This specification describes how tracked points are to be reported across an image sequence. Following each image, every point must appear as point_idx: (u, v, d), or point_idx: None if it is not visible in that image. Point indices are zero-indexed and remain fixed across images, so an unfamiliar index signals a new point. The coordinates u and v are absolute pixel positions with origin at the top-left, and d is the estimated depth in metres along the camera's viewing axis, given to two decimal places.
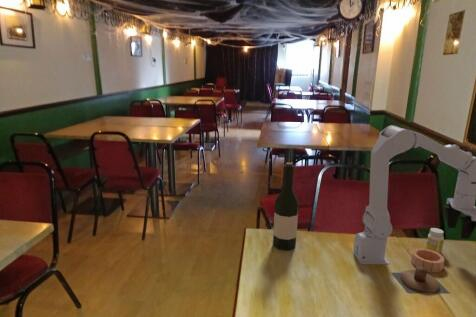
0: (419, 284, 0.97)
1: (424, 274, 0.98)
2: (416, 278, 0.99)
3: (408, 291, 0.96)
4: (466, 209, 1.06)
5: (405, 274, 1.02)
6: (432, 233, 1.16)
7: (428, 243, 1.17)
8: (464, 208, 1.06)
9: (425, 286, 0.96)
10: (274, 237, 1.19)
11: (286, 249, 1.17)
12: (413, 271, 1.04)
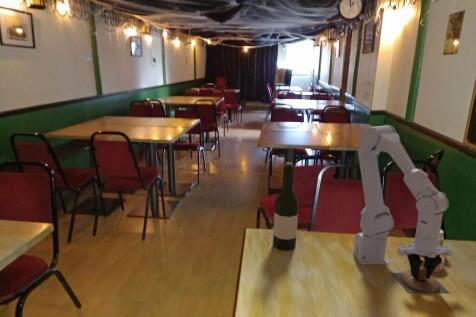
0: (419, 284, 0.97)
1: (424, 274, 0.98)
2: None
3: (408, 291, 0.96)
4: (413, 247, 0.98)
5: (405, 274, 1.02)
6: None
7: None
8: (413, 245, 0.98)
9: (424, 286, 0.96)
10: (274, 237, 1.19)
11: (286, 249, 1.17)
12: None
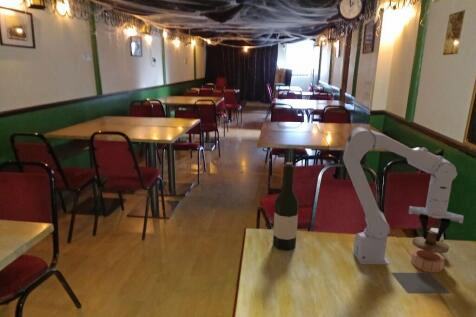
0: (425, 244, 1.06)
1: (432, 237, 1.06)
2: (425, 240, 1.07)
3: (408, 291, 0.96)
4: (425, 209, 1.07)
5: (419, 238, 1.11)
6: None
7: None
8: (426, 208, 1.08)
9: (429, 246, 1.05)
10: (274, 237, 1.19)
11: (286, 249, 1.17)
12: None
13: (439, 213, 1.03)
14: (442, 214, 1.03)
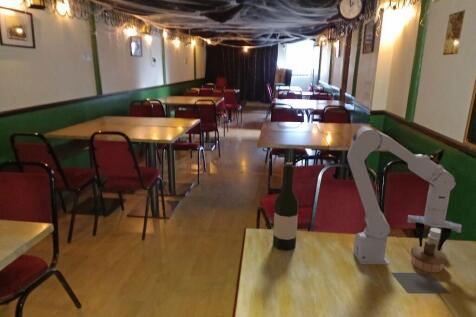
0: (423, 255, 1.07)
1: (430, 248, 1.07)
2: (424, 251, 1.08)
3: (408, 291, 0.96)
4: (423, 218, 1.08)
5: (418, 247, 1.12)
6: (432, 233, 1.16)
7: None
8: None
9: (427, 258, 1.06)
10: (274, 237, 1.19)
11: (286, 249, 1.17)
12: None
13: (437, 222, 1.04)
14: (440, 223, 1.04)
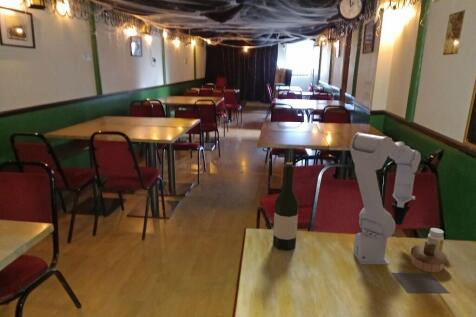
0: (423, 255, 1.07)
1: (430, 248, 1.07)
2: (424, 251, 1.08)
3: (408, 291, 0.96)
4: (399, 197, 1.16)
5: (418, 247, 1.12)
6: (432, 233, 1.16)
7: None
8: (398, 196, 1.16)
9: (427, 258, 1.06)
10: (274, 237, 1.19)
11: (286, 249, 1.17)
12: None
13: None
14: None
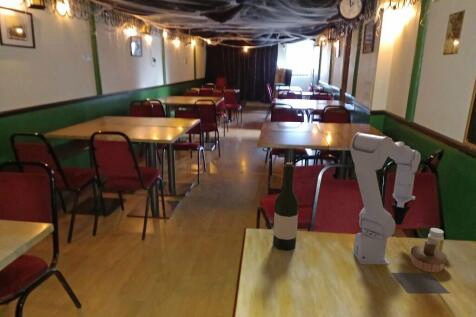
0: (423, 255, 1.07)
1: (430, 248, 1.07)
2: (424, 251, 1.08)
3: (408, 291, 0.96)
4: (399, 197, 1.16)
5: (418, 247, 1.12)
6: (432, 233, 1.16)
7: None
8: (398, 196, 1.16)
9: (427, 258, 1.06)
10: (274, 237, 1.19)
11: (286, 249, 1.17)
12: None
13: None
14: None
